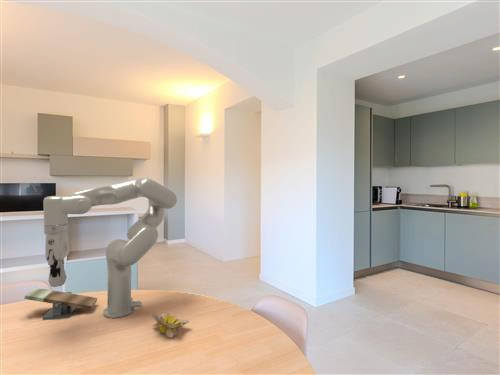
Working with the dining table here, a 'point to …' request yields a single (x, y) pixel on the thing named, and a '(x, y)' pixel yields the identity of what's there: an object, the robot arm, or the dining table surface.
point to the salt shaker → (58, 280)
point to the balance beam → (61, 298)
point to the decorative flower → (168, 323)
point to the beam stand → (59, 311)
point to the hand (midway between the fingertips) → (57, 276)
